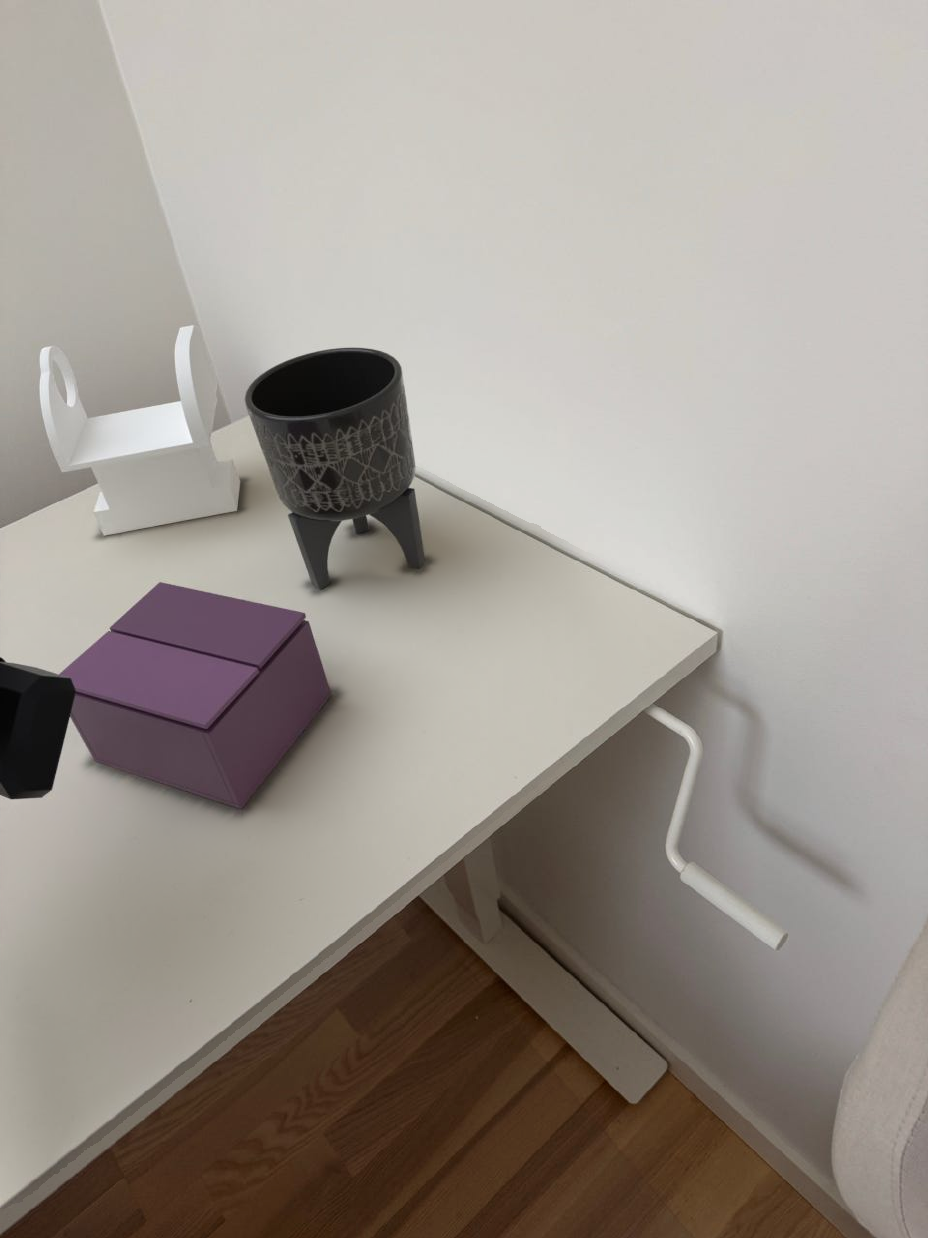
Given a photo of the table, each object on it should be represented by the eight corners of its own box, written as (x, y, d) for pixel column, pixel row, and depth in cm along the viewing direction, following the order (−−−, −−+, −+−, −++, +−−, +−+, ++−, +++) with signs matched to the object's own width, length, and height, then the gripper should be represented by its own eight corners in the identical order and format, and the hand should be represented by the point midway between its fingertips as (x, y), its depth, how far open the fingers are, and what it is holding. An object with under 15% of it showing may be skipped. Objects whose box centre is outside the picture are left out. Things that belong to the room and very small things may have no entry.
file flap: (206, 729, 62) (205, 725, 61) (53, 684, 67) (51, 680, 67) (259, 672, 66) (258, 667, 65) (110, 634, 71) (108, 630, 71)
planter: (295, 535, 93) (244, 364, 82) (425, 508, 94) (392, 335, 83) (299, 614, 83) (242, 432, 72) (445, 583, 84) (410, 398, 72)
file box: (241, 809, 66) (204, 726, 61) (94, 761, 72) (49, 681, 67) (331, 695, 74) (306, 612, 69) (192, 659, 80) (159, 581, 75)
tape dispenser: (97, 550, 96) (21, 384, 85) (118, 486, 106) (52, 330, 95) (236, 524, 96) (178, 355, 85) (243, 462, 106) (192, 304, 95)
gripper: (-43, 554, 41) (197, 603, 55) (-288, 493, 48) (-22, 550, 63) (-107, 810, 40) (152, 794, 54) (-343, 708, 48) (-63, 717, 62)
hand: (49, 703), depth 58 cm, fingers closed
